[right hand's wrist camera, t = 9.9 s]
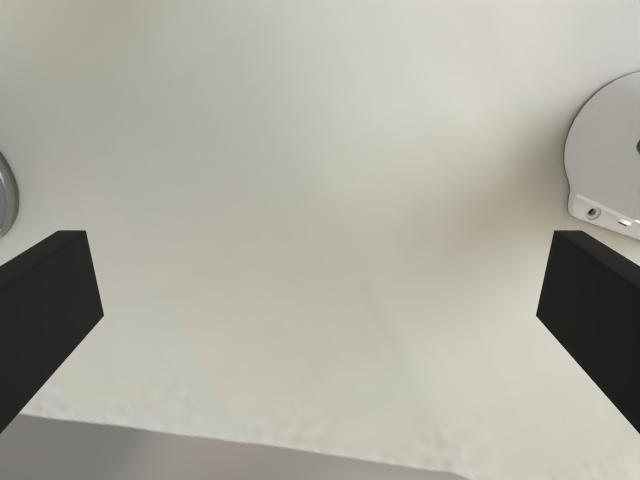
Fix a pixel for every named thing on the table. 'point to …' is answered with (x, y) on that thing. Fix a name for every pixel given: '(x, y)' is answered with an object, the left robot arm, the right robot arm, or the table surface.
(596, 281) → the right robot arm
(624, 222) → the left robot arm
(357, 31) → the table surface
